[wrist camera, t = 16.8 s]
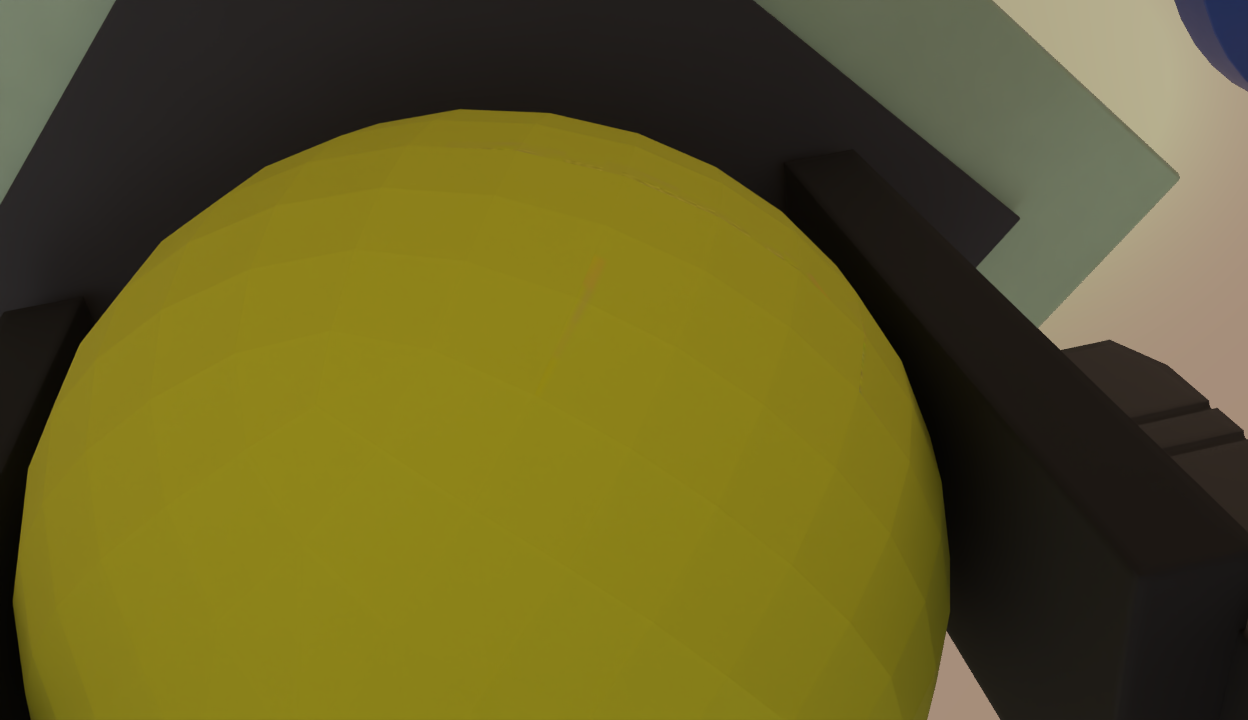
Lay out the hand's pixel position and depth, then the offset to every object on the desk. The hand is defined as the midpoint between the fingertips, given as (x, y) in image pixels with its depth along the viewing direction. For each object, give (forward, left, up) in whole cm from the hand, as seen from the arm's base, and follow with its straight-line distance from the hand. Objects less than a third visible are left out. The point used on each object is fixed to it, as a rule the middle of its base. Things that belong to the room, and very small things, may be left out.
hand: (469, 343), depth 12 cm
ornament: (0, 0, 0) cm, 0 cm away
